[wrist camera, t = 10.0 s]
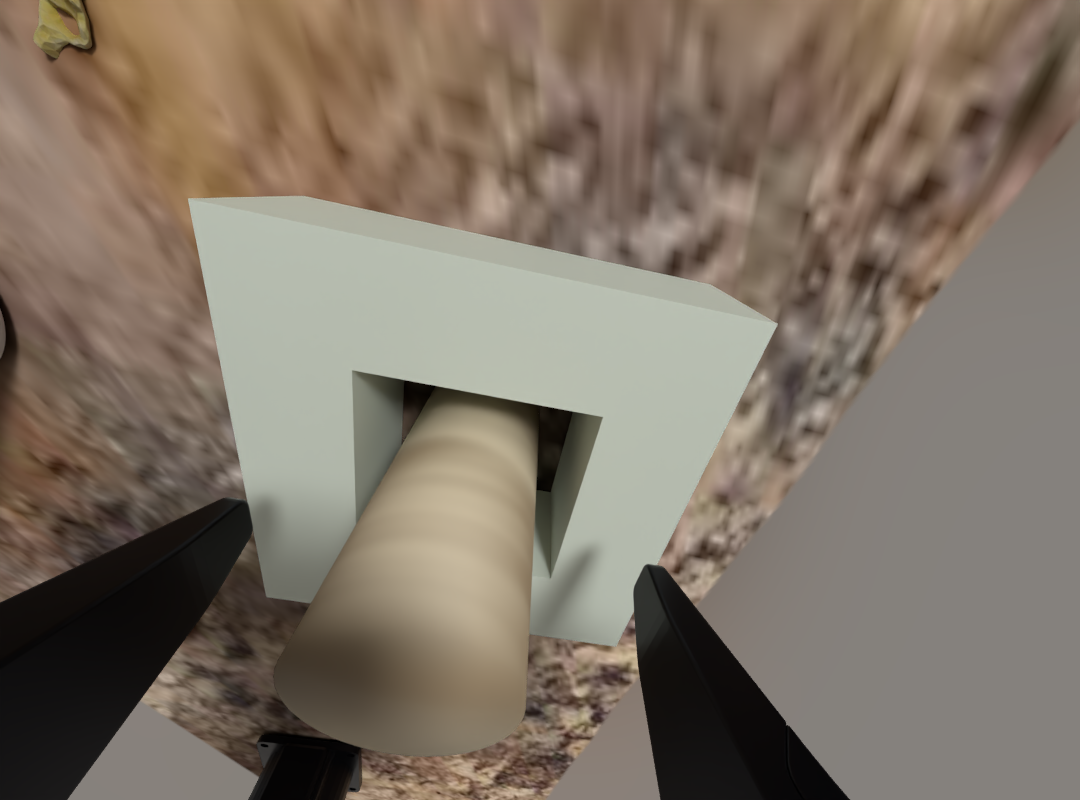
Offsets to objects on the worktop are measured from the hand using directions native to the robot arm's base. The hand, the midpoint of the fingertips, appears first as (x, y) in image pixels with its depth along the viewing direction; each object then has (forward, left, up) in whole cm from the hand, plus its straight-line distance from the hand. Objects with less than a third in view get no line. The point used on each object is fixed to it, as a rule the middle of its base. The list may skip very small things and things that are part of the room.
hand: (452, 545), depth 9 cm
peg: (0, 0, -6) cm, 6 cm away
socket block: (0, 0, -6) cm, 6 cm away
